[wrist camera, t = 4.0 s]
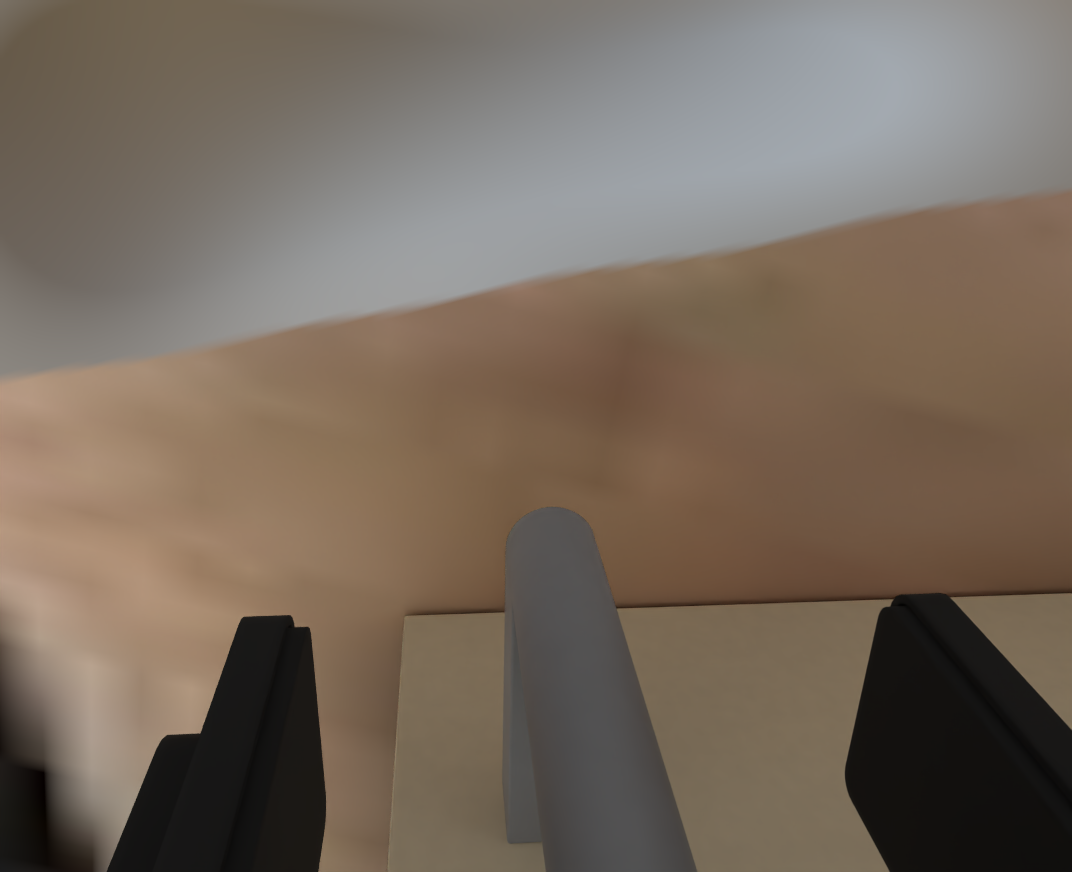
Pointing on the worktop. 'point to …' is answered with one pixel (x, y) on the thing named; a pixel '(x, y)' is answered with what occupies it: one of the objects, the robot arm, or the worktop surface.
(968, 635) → the robot arm
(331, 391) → the worktop surface
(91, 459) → the worktop surface
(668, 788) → the cupboard door
